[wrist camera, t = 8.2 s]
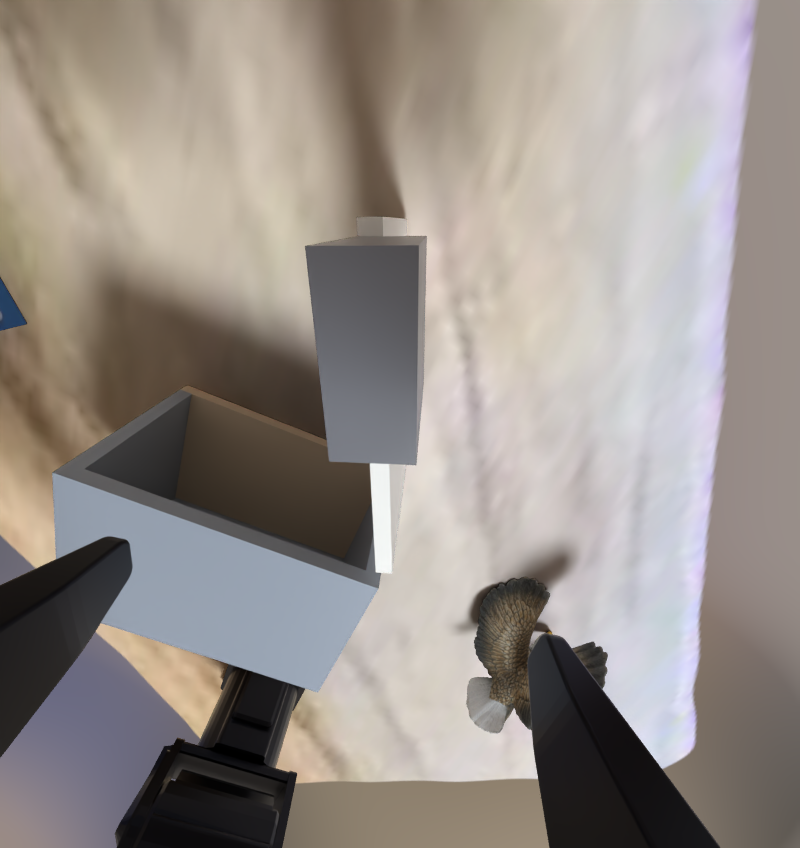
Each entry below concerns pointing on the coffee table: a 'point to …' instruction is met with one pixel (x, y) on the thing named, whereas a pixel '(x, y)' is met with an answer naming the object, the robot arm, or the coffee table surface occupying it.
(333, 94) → the coffee table surface
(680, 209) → the coffee table surface
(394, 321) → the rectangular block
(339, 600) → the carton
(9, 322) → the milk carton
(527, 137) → the coffee table surface
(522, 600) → the eagle figurine
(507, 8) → the coffee table surface
